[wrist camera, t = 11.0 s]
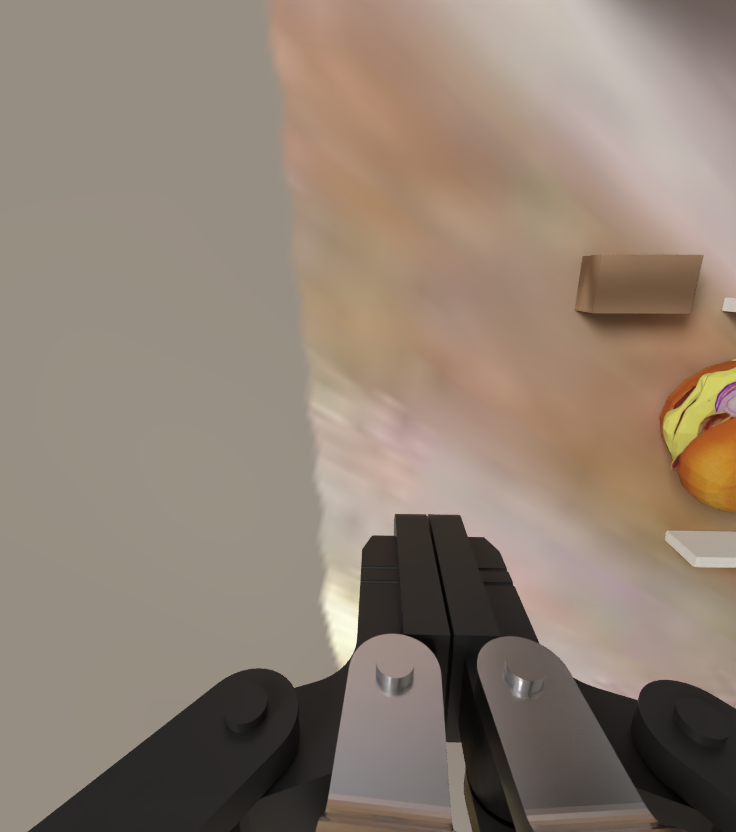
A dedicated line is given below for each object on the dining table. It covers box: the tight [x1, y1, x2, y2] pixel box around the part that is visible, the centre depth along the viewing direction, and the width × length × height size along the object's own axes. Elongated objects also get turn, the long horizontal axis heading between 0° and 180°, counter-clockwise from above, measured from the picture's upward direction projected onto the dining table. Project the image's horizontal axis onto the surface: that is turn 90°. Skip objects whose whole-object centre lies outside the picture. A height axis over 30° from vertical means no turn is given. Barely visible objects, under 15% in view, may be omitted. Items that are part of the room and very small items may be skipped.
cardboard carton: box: [575, 255, 703, 314], centre depth 32 cm, size 4×7×3 cm, turn 90°
